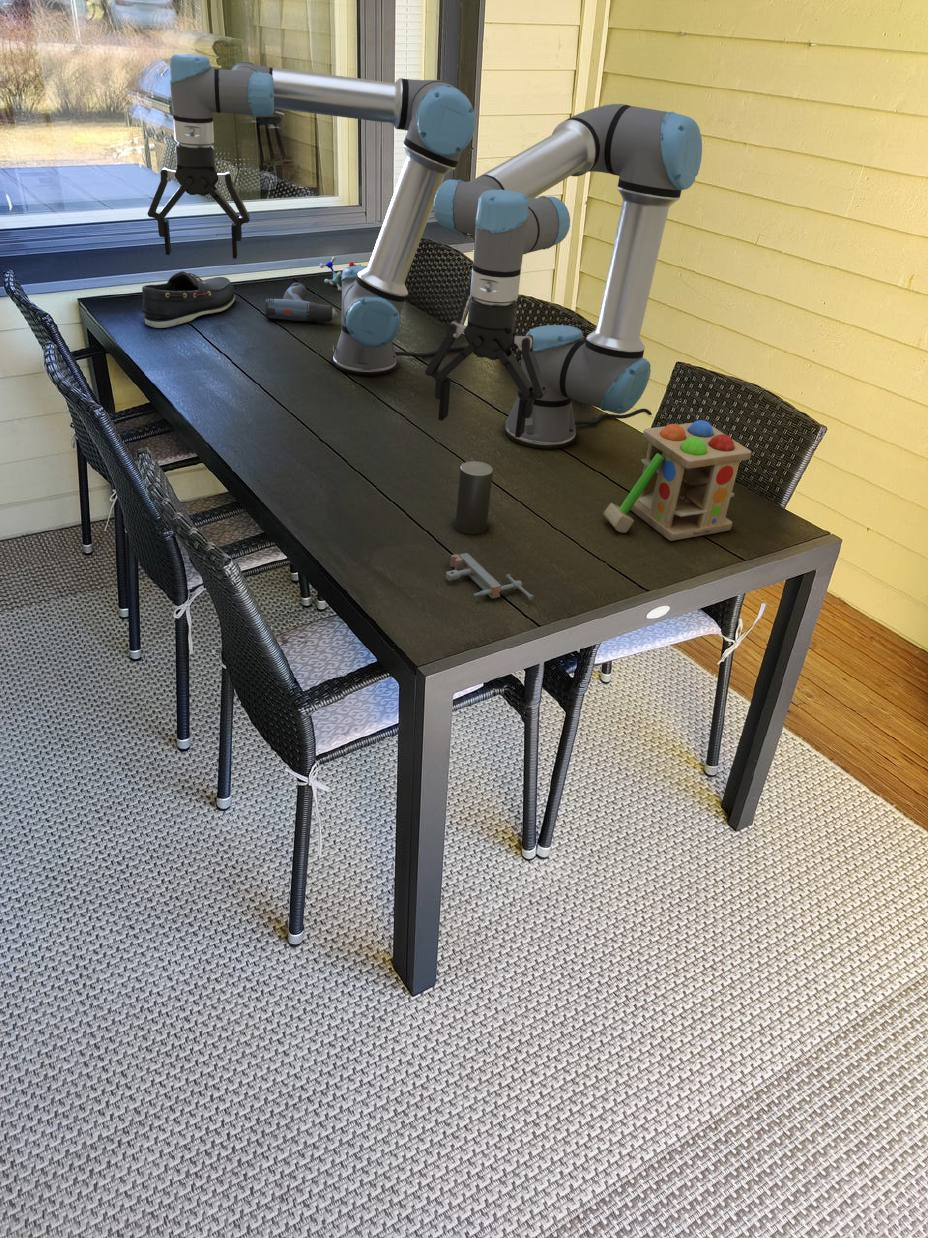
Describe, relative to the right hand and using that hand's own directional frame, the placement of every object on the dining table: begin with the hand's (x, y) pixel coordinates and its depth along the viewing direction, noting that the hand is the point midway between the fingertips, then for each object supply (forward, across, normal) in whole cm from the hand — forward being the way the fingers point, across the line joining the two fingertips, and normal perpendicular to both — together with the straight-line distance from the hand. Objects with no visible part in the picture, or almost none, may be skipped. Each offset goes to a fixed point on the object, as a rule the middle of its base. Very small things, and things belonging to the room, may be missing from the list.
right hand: (480, 426), depth 165 cm
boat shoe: (+19, -105, +76) cm, 131 cm away
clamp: (+19, +8, -18) cm, 28 cm away
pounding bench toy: (+19, +31, +18) cm, 41 cm away
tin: (+19, 0, 0) cm, 19 cm away
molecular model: (+19, -83, +119) cm, 147 cm away
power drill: (+19, -80, +92) cm, 123 cm away
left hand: (-8, -75, +36) cm, 84 cm away
